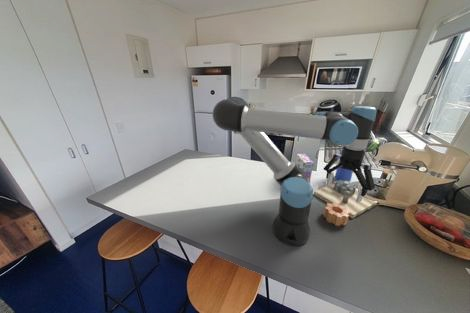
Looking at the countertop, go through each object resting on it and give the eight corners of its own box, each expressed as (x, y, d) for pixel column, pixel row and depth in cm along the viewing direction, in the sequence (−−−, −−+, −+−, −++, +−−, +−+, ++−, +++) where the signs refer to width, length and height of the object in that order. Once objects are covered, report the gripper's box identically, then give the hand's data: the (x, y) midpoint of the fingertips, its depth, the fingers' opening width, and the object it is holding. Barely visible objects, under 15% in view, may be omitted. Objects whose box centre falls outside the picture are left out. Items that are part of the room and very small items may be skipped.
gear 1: (352, 197, 93) (355, 189, 91) (332, 191, 99) (334, 183, 97) (355, 189, 100) (358, 181, 98) (336, 183, 106) (338, 176, 104)
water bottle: (354, 180, 113) (364, 144, 103) (343, 183, 110) (353, 146, 100) (341, 174, 121) (350, 139, 111) (331, 176, 118) (339, 141, 108)
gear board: (352, 218, 82) (356, 204, 79) (313, 194, 100) (316, 182, 97) (379, 203, 92) (384, 190, 89) (340, 183, 110) (343, 172, 107)
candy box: (309, 186, 107) (314, 162, 101) (299, 186, 107) (303, 162, 101) (302, 175, 120) (305, 153, 113) (293, 175, 120) (296, 153, 114)
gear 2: (338, 229, 76) (340, 220, 74) (318, 215, 84) (320, 206, 82) (351, 221, 80) (354, 212, 78) (332, 208, 88) (334, 200, 87)
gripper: (398, 156, 60) (379, 206, 68) (331, 137, 80) (323, 178, 89) (386, 160, 57) (368, 212, 65) (320, 140, 77) (312, 182, 85)
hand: (342, 192), depth 77 cm, fingers open, 13 cm apart
